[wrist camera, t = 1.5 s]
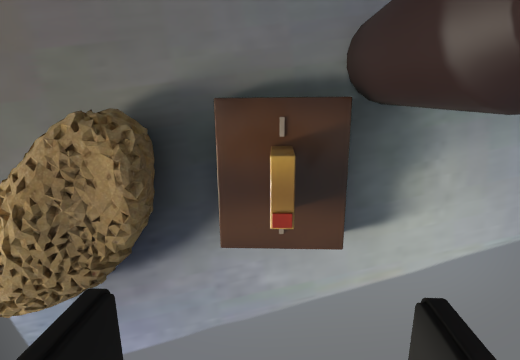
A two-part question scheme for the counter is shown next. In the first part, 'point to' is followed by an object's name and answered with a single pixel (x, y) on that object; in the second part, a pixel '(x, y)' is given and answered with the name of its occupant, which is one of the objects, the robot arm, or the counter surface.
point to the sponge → (73, 209)
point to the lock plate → (306, 169)
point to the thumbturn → (282, 187)
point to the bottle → (440, 55)
